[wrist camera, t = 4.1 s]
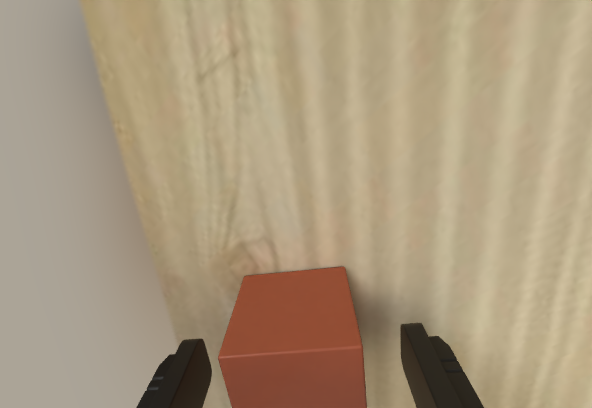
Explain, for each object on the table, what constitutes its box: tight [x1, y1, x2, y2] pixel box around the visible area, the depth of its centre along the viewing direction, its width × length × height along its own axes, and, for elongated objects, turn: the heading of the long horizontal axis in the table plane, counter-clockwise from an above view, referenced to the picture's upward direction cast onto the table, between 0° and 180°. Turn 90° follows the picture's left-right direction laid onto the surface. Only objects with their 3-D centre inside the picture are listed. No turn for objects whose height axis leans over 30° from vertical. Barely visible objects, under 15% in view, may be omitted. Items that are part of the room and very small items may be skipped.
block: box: [218, 267, 367, 408], centre depth 12 cm, size 4×4×4 cm
